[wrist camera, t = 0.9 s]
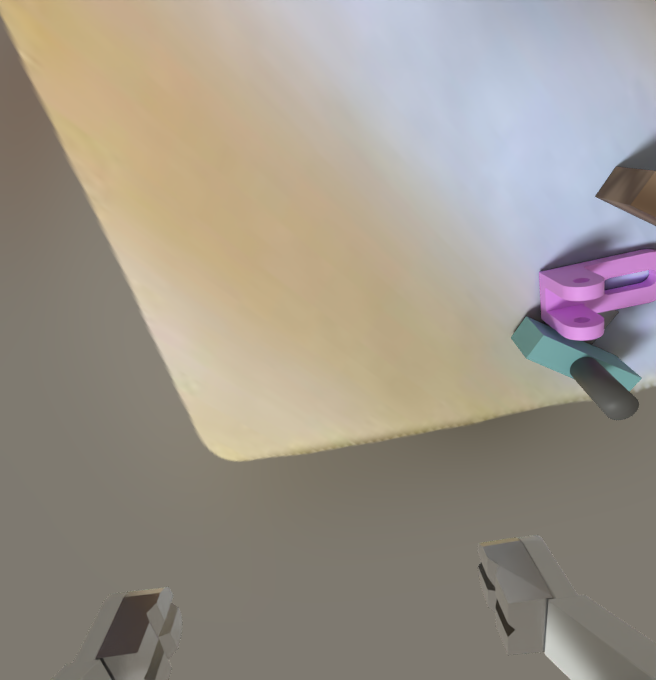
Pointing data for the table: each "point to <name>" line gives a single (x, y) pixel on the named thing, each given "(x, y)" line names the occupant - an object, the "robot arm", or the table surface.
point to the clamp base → (629, 203)
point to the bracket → (593, 292)
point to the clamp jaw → (581, 366)
